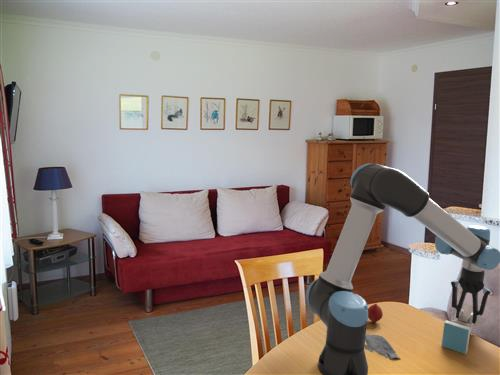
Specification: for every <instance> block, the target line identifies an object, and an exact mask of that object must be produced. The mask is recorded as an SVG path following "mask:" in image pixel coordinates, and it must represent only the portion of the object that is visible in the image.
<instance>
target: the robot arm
mask: <svg viewBox="0 0 500 375" xmlns="http://www.w3.org/2000/svg"><path fill="white" fill-rule="evenodd" d="M350 186H351V190H352V191H351V193H350V196H349V199H350V202H351V207H350V209H349V212H348V214H347V217H346V219H345V222H344V224H343V227H342V229H341V232H340V235H339V237H338V239H337V242H336V243H335V244H336V245H335V247H334V249H333V253H332V255H331V258H330V259H329V263H328V265H327V268H326V270H325V271H323V272H320V273H319V276H318V278H315V280H313V281H312V282H310V284H309V286H308V287H307V289H306V295H305V296H306V301H307V304H308V306H309V308H310V310H311V311H312V312H313V313H314V314H315V315H316V316H317V317H318V318H319V319H320V320H321V322H322V323H323V324H324V325H325V326H326V337H325V338H326V339H325V343H324V346H323V349H322V351H321V352H320V354H319V356H318V363H317V367H318V371H319V372H320V374H322V375H368V374H369V373H368V371H369V366H368V361H367V360H368V359H367V356H366V352H365V345H366V344H365V343H366V341H365V337H366V335H367V326H368V320H369V318H368V308H369V306H368V303H367V301H366V299H364V297H362V296H360V295H359V294H358V293H354V292H352V291H353V289H354V286H353V283H352V279H353V277H354V274H355V270H356V269H357V266H358V264H359V262H360V258H361V256H362V254H363V251H364V248H365V246H366V244H367V241H368V238H369V236H370V233H371V231H372V228H373V226H374V223H375V221H376V218H377V215H379V214H380V213H382V212H384V211H385V209H386V207H389V208H391V209H394V210H395V211H398V212H400V213H402V214H403V215H404V216H405V217H407V218H413V219H415V220H416V221H417V222H419V224H421V225H422V226H424V227H425V228H426V229H428V230H429V231H430V232H432V234H434V235H435V241H434V246H435V248H436V251H437V252H438V253H439V254H441V255H446V256H447V255H453V256H455V257H457V258H459V259H462V264H461V265H462V267H461V270H460V277H459V279H457V280H455V279H453V280H452V281H451V282H450V285H451V289H452V291H451V292H452V294H451V308H454V309H456V312H455V318H456V319H458V318H459V317H460V316H461V314H462V313H463V312H464V310H465V309H463V306H464V302H465V298H466V296H467V294H471V297H472V298H471V299H472V307H473V312H472V313H471V315H470V322H469V324H470V328H471V330H470V333H471V332H472V331H473V326H474V324H475V325H476V323H477V320H478V316H483V314H484V312H485V309H486V305H487V302H488V296H490V294H491V292H492V290H491V288H487V287H486V286H485V284H484V279H485V273H486V272H485V270H487V271H492V270H495V269H496V268H497V267H498V266H499V264H500V250H499V249H497V248H496V247H495V246H493V245H490V241H491V230H490V229H489V228H487V227H486V226H483V225H475V224H471V225H468V226H467V227H465V226H464V225H463V224H462V223H461V222H460V221H458V220H457V219H456V218H455V217H454V216H452V215H450V213H448V212H447V211H446V210H445V209H443V208H442V207H441V206H440V205H438V204H437V203H436V202H435V201H434V200H433V199H431V198H430V194H429V192H428V191H427V190H425V189H424V188H423V187H422V186H421V185H420V184H418V183H417V182H416V181H415V180H414V179H412V178H411V177H410V176H409V175H407V174H406V173H405V172H403V171H401V170H399V169H397V168H393V167H389V166H385V165H382V164H378V163H364V164H362V165H360V166H359V167H356V169H355V170H354V171H353V173H352V175H351V177H350ZM458 287H461V289H462V290H461V295H460V297H459V300H458ZM481 291H482V294H483V295H482V298H481V302H480V306H479V301H478V300H479V299H478V298H479V297H478V296H479V295H478V294H479V292H481ZM473 323H474V324H473Z"/></svg>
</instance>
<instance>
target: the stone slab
mask: <svg viewBox="0 0 500 375" xmlns="http://www.w3.org/2000/svg"><path fill="white" fill-rule="evenodd" d="M365 343H366V344H365V346H364V350H367V351H369V352H370V353H374V352H375V353H377V354H378V355H380V356H382V357H384V358H385V359H389V360H393V359H395V358H396V359H398V360H400V357H399V355H398V354H397V352H396V351H395V349H394V348H393V347H392V345H391V344H390V342H389V341H388V340H387V339H386V338H384V337H383V336H381V335H379V334H368V333H366V337H365Z"/></svg>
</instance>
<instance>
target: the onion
mask: <svg viewBox="0 0 500 375" xmlns="http://www.w3.org/2000/svg"><path fill="white" fill-rule="evenodd" d="M383 314H384V313H383V310H382V308H381V306H379V305H378V303H376V302H375V303H374V304H372V305H370V306H368V320H370V321H371V322H372V323H373V324H376V323H377V322H379V321H380V320H381V319H382V318H383Z"/></svg>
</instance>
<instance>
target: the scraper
mask: <svg viewBox="0 0 500 375" xmlns="http://www.w3.org/2000/svg"><path fill="white" fill-rule="evenodd" d="M463 310H464V311H463V313H462V314H461V316H460V317H459V318H457V320H456V319H451V321H450V322H454V323H457V324H460V325H463V326H467V327H470V324H469V322H470V315H471V313H472V312H473V306H470V305H468V306H467V307H466V308H465V309H463ZM473 325H474V323H473Z"/></svg>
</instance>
